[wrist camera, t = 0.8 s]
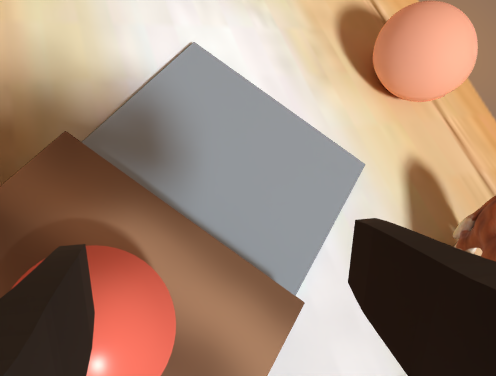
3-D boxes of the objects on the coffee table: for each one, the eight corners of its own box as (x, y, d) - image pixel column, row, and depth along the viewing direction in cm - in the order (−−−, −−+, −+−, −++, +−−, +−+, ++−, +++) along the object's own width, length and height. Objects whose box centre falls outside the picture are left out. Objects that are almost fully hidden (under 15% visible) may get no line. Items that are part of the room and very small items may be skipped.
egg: (446, 114, 40) (518, 52, 33) (384, 127, 37) (450, 62, 30) (402, 46, 43) (461, -24, 36) (340, 53, 39) (392, -22, 33)
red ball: (100, 460, 18) (102, 464, 16) (-39, 359, 18) (-53, 351, 16) (196, 315, 22) (206, 306, 20) (81, 233, 22) (80, 215, 20)
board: (136, 588, 19) (144, 614, 16) (-167, 368, 19) (-206, 360, 16) (283, 314, 26) (304, 302, 24) (66, 158, 27) (65, 130, 24)
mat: (287, 307, 27) (290, 305, 26) (72, 153, 27) (72, 149, 26) (362, 166, 34) (365, 164, 33) (192, 45, 34) (193, 41, 34)
